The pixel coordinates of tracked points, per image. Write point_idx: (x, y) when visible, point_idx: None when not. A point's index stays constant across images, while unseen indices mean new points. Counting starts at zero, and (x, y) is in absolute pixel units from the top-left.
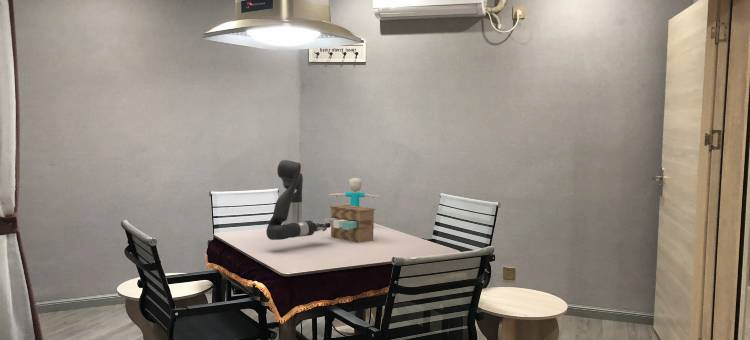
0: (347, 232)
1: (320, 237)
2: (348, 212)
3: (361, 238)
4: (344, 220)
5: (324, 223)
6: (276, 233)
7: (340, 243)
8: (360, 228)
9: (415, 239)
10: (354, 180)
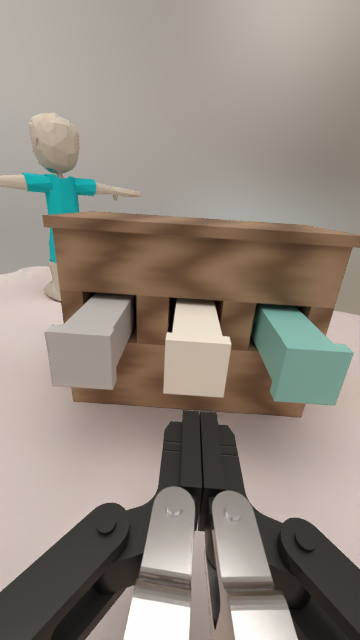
0: None
1: (13, 440)
2: (231, 255)
3: None
4: (211, 314)
5: (187, 465)
6: None
7: (269, 504)
8: None
9: None
10: (57, 121)
